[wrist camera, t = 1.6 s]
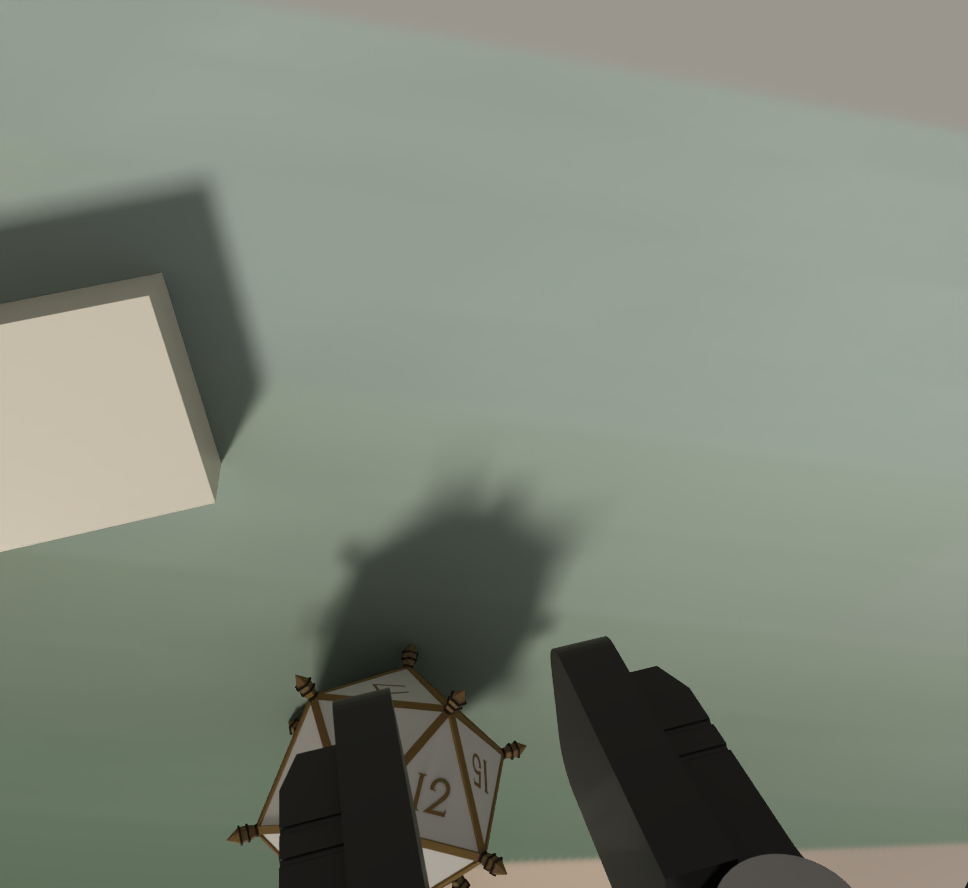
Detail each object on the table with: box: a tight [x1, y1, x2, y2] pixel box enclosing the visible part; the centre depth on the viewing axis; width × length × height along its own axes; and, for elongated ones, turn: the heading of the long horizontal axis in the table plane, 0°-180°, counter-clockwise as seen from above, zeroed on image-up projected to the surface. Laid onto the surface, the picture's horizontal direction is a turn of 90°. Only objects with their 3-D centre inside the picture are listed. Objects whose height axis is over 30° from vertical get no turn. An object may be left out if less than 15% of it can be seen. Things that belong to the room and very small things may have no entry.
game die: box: [227, 643, 526, 888], centre depth 28 cm, size 9×8×10 cm
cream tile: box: [0, 273, 221, 552], centre depth 24 cm, size 6×6×3 cm
